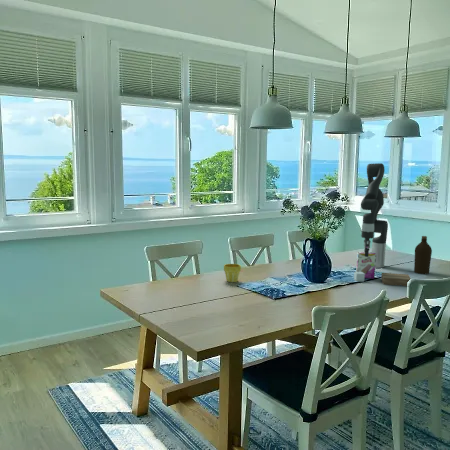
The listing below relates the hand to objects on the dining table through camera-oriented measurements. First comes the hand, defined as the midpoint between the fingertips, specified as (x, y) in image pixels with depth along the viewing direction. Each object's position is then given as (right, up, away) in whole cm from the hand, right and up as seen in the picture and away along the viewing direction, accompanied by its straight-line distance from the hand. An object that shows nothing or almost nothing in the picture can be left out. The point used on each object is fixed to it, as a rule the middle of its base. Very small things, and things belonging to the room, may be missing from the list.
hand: (366, 255), depth 299 cm
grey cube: (-6, -16, -6) cm, 18 cm away
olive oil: (+43, -13, +18) cm, 49 cm away
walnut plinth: (+16, -16, -9) cm, 24 cm away
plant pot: (-86, -15, -12) cm, 88 cm away
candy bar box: (0, -15, +2) cm, 15 cm away
